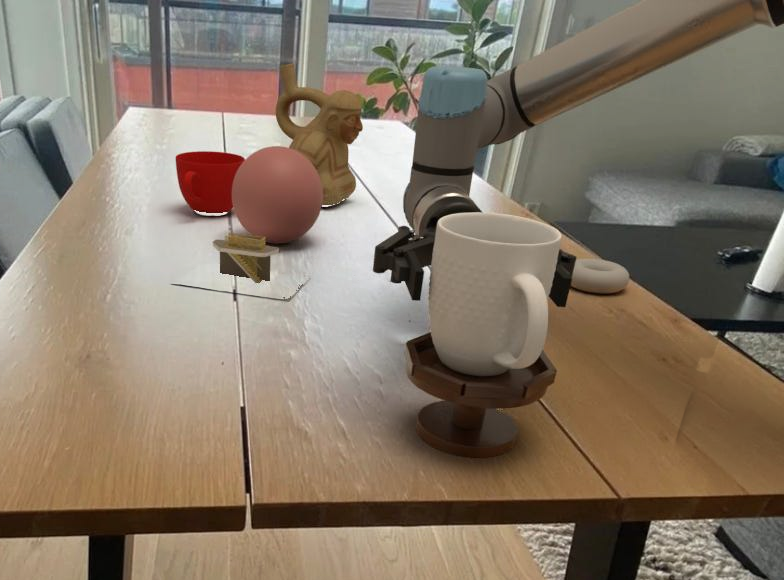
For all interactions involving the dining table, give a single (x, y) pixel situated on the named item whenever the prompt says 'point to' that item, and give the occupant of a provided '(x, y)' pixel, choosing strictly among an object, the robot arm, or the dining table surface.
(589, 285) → the donut
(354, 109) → the ceramic vessel
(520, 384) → the cake stand
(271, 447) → the dining table surface
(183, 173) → the ceramic cup
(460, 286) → the mug
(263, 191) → the pink ball
